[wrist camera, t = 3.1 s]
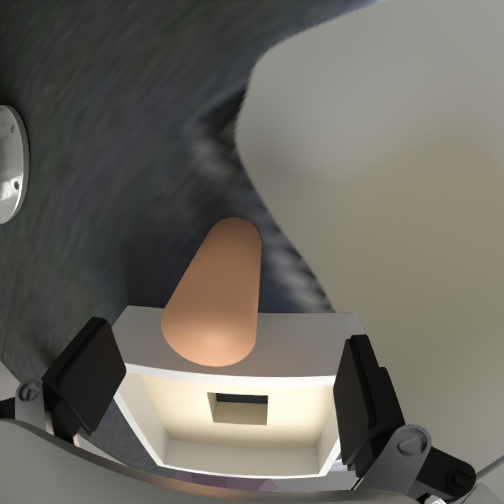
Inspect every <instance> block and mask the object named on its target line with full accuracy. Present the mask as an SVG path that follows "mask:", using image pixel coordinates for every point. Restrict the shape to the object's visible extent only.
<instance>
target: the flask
mask: <svg viewBox="0 0 504 504" xmlns="http://www.w3.org/2000/svg"><path fill="white" fill-rule="evenodd" d="M174 475H175V476H176V478H177V479H178V480H180V481H184V482H189V483H195V484H200V485H206V486H213V487H220V488H228V489H237V490H248V491H265V492H272V491H274V490H275V489H276V488H277V487H276V485H275V484H274V483H273V481H272V480H271V479H270V478H241V477H228V476H218V475H209V474H201V473H195V472H188V471H183V470H180V471H178V472H176V473H175V474H174Z"/></svg>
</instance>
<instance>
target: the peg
mask: <svg viewBox="0 0 504 504" xmlns="http://www.w3.org/2000/svg"><path fill="white" fill-rule="evenodd" d="M261 251H262V240H261V236H260V233H259V232H258V230H257V228H256V227H255V226H254V225H253V224H252V223H250V222H249V221H247V220H245V219H242V218H238V217H229V218H225V219H222V220H220V221H218V222H217V223H216V224H214V225H213V227H212V228H211V229H210V231H209V233H208V234H207V236H206V238H205V239H204V241H203V243H202V244H201V246H200V248H199V249H198V251H197V253H196V255H195V256H194V258H193V260H192V261H191V263H190V265H189V267H188V268H187V270H186V272H185V273H184V275H183V277H182V279H181V280H180V282H179V284H178V286H177V287H176V289H175V291H174V293H173V295H172V296H171V298H170V300H169V302H168V304H167V305H166V307H165V309H164V311H163V313H162V317H161V329H162V332H163V335H164V337H165V339H166V341H167V342H168V344H169V345H170V346H171V347H172V348H173V349H174V350H175V351H176V352H177V353H178V354H179V355H181V356H182V357H184V358H186V359H188V360H189V361H192V362H194V363H197V364H200V365H205V366H214V367H219V366H227V365H231V364H234V363H237V362H239V361H241V360H242V359H244V358H245V357H246V356H247V355H248V354H249V353H250V352H251V350H252V349H253V347H254V344H255V340H256V327H257V313H258V298H259V282H260V267H261Z"/></svg>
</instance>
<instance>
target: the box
mask: <svg viewBox="0 0 504 504" xmlns="http://www.w3.org/2000/svg"><path fill="white" fill-rule="evenodd" d="M164 309H165V308H152V307H141V306H130V305H128V306H127V307H126V309H125V310H124V311H123V313H122V314H121V315H120V317H119V318H118V320H117V321H116V322H115V324H114V325H113V327H112V331H113V334H114V337H115V340H116V343H117V345H118V348H119V351H120V353H121V356H122V358H123V361H124V364H125V366H126V375H125V377H124V379H123V381H122V383H121V384H120V386H119V388H118V390H117V392H116V393H115V395H114V397H113V398H114V400H115V401H116V403H117V405H118V407H119V408H120V410H121V412H122V413H123V415H124V417H125V418H126V420H127V421H128V423H129V425H130V426H131V428H132V429H133V431H134V432H135V434H136V435H137V437H138V438H139V440H140V441H141V443H142V444H143V446H144V447H145V448H146V450H147V451H148V453H149V454H150V455H151V457H152V458H153V459H154V461H155V462H156V463H157V465H158V466H162V467H167V468H172V469H177V470H183V471H188V472H195V473H201V474H209V475H218V476H228V477H241V478H305V477H317V476H325V475H326V474H327V472H328V471H329V469H330V468H331V466H332V465H333V463H334V461H335V460H336V458H337V456H338V455H339V453H340V451H341V448H340V439H339V432H338V424H337V417H336V410H335V403H334V396H333V386H334V382H335V378H336V375H337V371H338V368H339V364H340V360H341V356H342V352H343V348H344V344H345V341H346V339H350V337H351V335H361V334H365V332H364V330H363V327H362V325H361V323H360V320H359V318H358V316H357V313H356V312H342V313H257V327H256V340H255V344H254V347H253V349H252V350H251V352H250V353H249V354H248V355H247V356H246V357H245V358H244V359H242V360H241V361H239V362H237V363H234V364H231V365H227V366H219V367H214V366H205V365H200V364H197V363H194V362H192V361H189V360H188V359H186V358H184V357H182V356H181V355H179V354H178V353H177V352H176V351H175V350H174V349H173V348H172V347H171V346H170V345H169V344H168V342H167V341H166V339H165V337H164V335H163V332H162V329H161V317H162V313H163V311H164ZM216 393H226V394H243V395H268V402H267V404H257V403H234V402H220V401H217V397H216Z"/></svg>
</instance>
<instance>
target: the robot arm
mask: <svg viewBox="0 0 504 504" xmlns="http://www.w3.org/2000/svg"><path fill="white" fill-rule="evenodd" d="M28 178H29V148H28V139H27V135H26V130H25V127H24V124H23V122H22V119H21V118H20V116H19V114H18V112H17V111H16V110H15V109H14V108H12V107H10V106H8V105H0V224H1V223H5V222H7V221H9V220H11V219H12V218H13V217H14V216H15V215H16V214H17V213H18V211H19V210H20V208H21V206H22V203H23V201H24V198H25V194H26V190H27V184H28ZM125 375H126V366H125V364H124V361H123V358H122V356H121V353H120V351H119V348H118V345H117V343H116V340H115V337H114V334H113V331H112V328H111V325H110V324H109V323H108V322H107V320H106V319H104V318H98V317H92V318H91V319H90V320H89V321H88V322H87V324H86V325H85V326H84V327H83V328H82V329H81V330H80V332H79V333H78V334H77V335H76V336H75V337H74V339H73V340H72V341H71V342H70V343H69V345H68V346H67V347H66V348H65V349H64V351H63V352H62V353H61V354H60V355H59V357H58V358H57V359H56V360H55V362H54V363H53V364H52V365H51V367H50V368H49V369H48V370H47V372H46V373H45V374H44V376H43V377H42V378H41V379H42V381H43V382H44V383H43V384H42V385H41V383H40V382H39V381H37V380H34V379H31V380H27V381H24V382H23V383H21V384H20V385H19V387H18V388H17V390H16V395H15V397H13V398H9V399H6V400H2V401H0V504H504V503H503V502H502V501H501V500H500V499H499V498H498V497H497V496H496V495H495V494H494V493H493V492H492V491H491V490H489V489H488V488H487V487H486V486H485V485H484V484H483V483H482V482H480V483H479V484H478V483H477V482H476V473H475V470H474V469H473V467H472V466H471V465H470V464H468V463H466V462H464V461H462V460H459V459H457V458H455V457H453V456H451V455H448V454H447V453H444V452H442V451H440V450H438V449H436V448H434V447H432V446H431V437H430V435H429V433H428V432H427V431H426V430H425V429H424V428H422V427H421V426H418V425H414V424H410V425H409V424H408V425H406V424H405V421H404V418H403V414H402V411H401V408H400V405H399V402H398V399H397V397H396V393H395V391H394V388H393V385H392V382H391V379H390V377H389V374H388V371H387V369H386V368H385V367H379V366H378V363H377V360H376V357H375V354H374V351H373V349H372V346H371V344H370V341H369V338H368V336H367V335H366V334H361V335H351V337H350V339H346V341H345V344H344V348H343V352H342V356H341V360H340V364H339V368H338V371H337V375H336V378H335V382H334V386H333V396H334V403H335V410H336V417H337V424H338V432H339V439H340V448H341V456H342V463H343V465H347V468H348V471H353V470H355V471H356V476H357V477H358V480H357V481H356V482H355V483H354V485H353V486H352V487H351V488H350V490H338V491H318V492H317V491H316V492H265V491H248V490H237V489H228V488H220V487H213V486H206V485H200V484H195V483H189V482H184V481H180V480H175V479H171V478H167V477H163V476H159V475H155V474H151V473H148V472H144V471H141V470H138V469H134V468H131V467H128V466H125V465H122V464H119V463H116V462H114V461H111V460H108V459H106V458H103V457H101V456H98V455H95V454H93V453H91V452H88V451H86V450H84V449H82V448H80V446H79V443H78V439H77V435H76V434H77V432H78V431H79V432H80V433H82V434H85V435H87V436H89V437H90V435H91V433H92V432H93V431H95V430H96V429H97V427H98V425H99V423H100V421H101V419H102V417H103V415H104V414H105V412H106V410H107V408H108V406H109V404H110V402H111V401H112V399H113V397H114V395H115V393H116V392H117V390H118V388H119V386H120V384H121V383H122V381H123V379H124V377H125Z"/></svg>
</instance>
